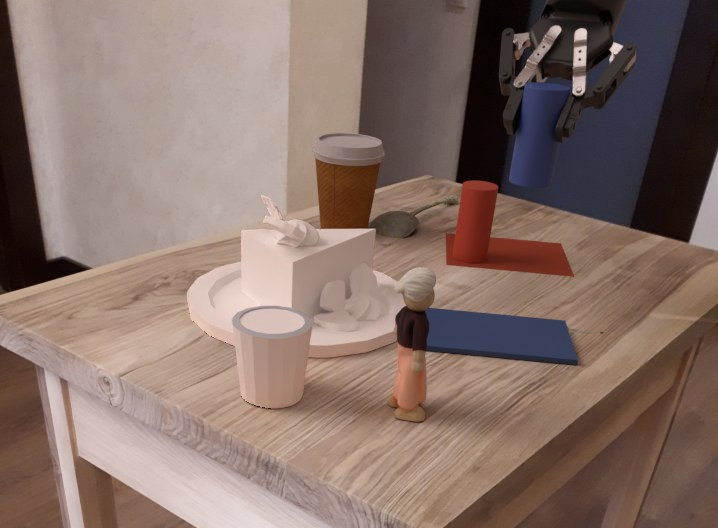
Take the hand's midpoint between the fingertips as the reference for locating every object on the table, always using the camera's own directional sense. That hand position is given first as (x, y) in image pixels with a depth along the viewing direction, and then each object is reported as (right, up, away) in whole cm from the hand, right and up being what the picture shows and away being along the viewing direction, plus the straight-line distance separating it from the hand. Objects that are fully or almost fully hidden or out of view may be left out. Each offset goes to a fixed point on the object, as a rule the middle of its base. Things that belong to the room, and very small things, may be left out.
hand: (534, 132), depth 78 cm
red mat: (+3, -4, +27) cm, 27 cm away
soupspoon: (-8, +4, +37) cm, 39 cm away
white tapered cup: (-25, -27, -7) cm, 37 cm away
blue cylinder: (+1, -3, +4) cm, 5 cm away
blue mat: (-3, -19, +6) cm, 20 cm away
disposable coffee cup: (-19, 0, +31) cm, 36 cm away
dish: (-23, -15, +9) cm, 29 cm away
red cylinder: (-3, -5, +24) cm, 25 cm away
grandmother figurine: (-13, -28, -7) cm, 32 cm away
